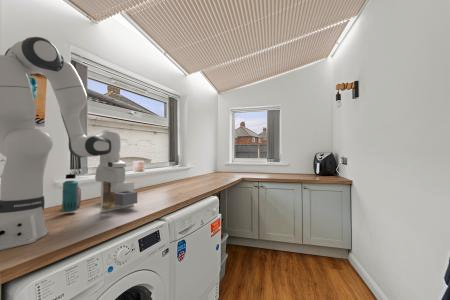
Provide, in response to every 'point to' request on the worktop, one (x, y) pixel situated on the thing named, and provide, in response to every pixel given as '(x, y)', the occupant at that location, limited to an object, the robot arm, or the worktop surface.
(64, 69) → the robot arm
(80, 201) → the soda can
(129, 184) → the white grey blocky piece
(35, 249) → the worktop surface
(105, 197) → the walnut rail
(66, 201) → the beverage bottle
